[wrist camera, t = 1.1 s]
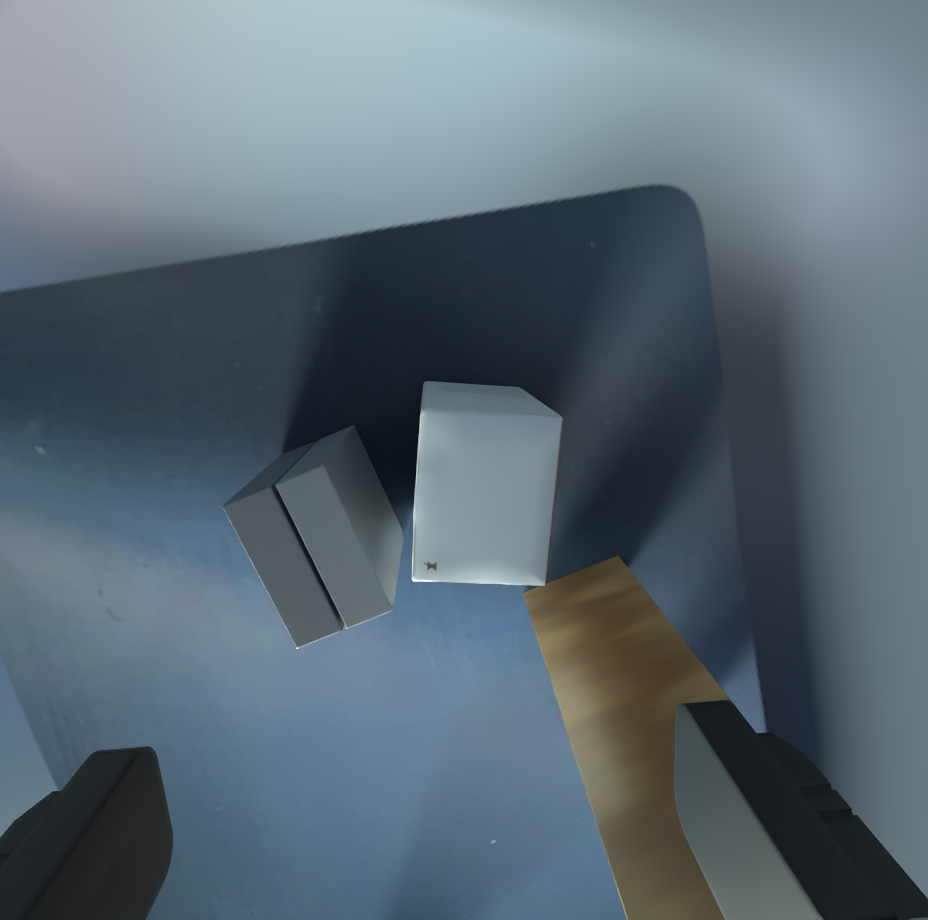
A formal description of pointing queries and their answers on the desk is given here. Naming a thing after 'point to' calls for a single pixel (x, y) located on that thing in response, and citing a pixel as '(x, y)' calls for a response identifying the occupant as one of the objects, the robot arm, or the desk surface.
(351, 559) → the grey books
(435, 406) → the small box
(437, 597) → the desk surface
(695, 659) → the shelf stand
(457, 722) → the desk surface
